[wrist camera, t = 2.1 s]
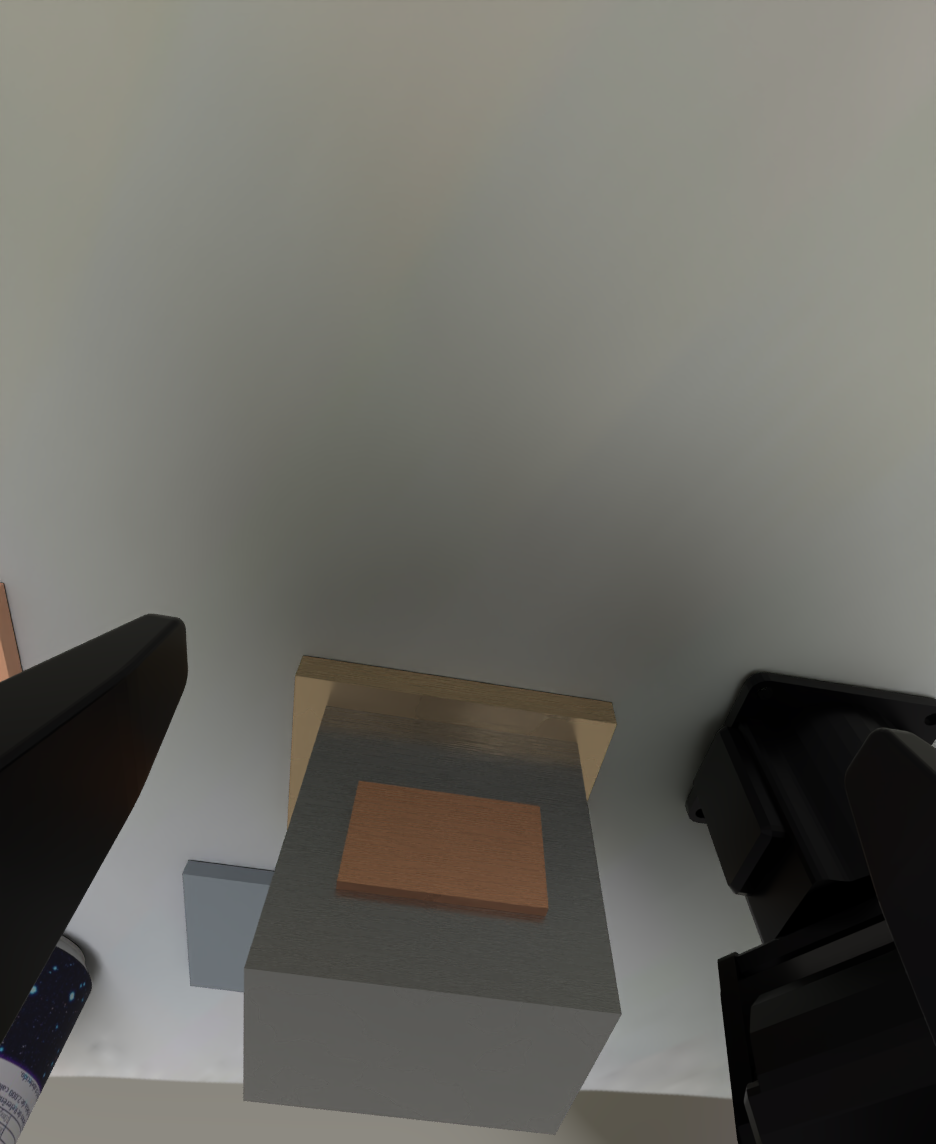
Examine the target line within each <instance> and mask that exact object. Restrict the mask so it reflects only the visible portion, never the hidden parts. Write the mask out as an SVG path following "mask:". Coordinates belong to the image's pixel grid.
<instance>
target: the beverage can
mask: <svg viewBox="0 0 936 1144" xmlns="http://www.w3.org/2000/svg"><path fill="white" fill-rule="evenodd" d="M91 989H92V982H91V978H90V975H89V973H88V970H87V968H86V966H85V957H84V955H83V953H82V951H81V950H80V949H79V947H78V946H76V945H75V944H74V943H73V942H72V941H70V940H69V939H67V938H66V937H64V936H61V938H60V940H59V942H58V943H57V945H56V947H55V949H54V950H53V952H52V954H51V956H50V958H49V959H48V961H47V963H46V965H45V967H44V968H43V970H42V972H41V974H40V975H39V977H38V979H37V981H36V983H35V984H34V986H33V988H32V990H31V992H30V993H29V995H28V997H27V999H26V1000H25V1002H24V1004H23V1006H22V1008H21V1009H20V1011H19V1013H18V1015H17V1017H16V1018H15V1020H14V1022H13V1024H12V1025H11V1027H10V1029H9V1031H8V1033H7V1034H6V1036H5V1038H4V1040H3V1042H2V1043H1V1045H0V1144H16V1142H17V1140H18V1138H19V1136H20V1134H21V1132H22V1130H23V1128H24V1126H25V1124H26V1122H27V1120H28V1118H29V1115H30V1114H31V1112H32V1109H33V1107H34V1105H35V1103H36V1101H37V1099H38V1097H39V1095H40V1093H41V1091H42V1089H43V1087H44V1085H45V1083H46V1081H47V1079H48V1077H49V1075H50V1073H51V1071H52V1069H53V1067H54V1065H55V1063H56V1061H57V1059H58V1057H59V1055H60V1053H61V1051H62V1049H63V1047H64V1045H65V1043H66V1041H67V1039H68V1037H69V1035H70V1033H71V1031H72V1029H73V1027H74V1025H75V1022H76V1020H77V1018H78V1016H79V1014H80V1012H81V1010H82V1008H83V1006H84V1004H85V1002H86V1000H87V998H88V996H89V994H90V992H91Z"/></svg>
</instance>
